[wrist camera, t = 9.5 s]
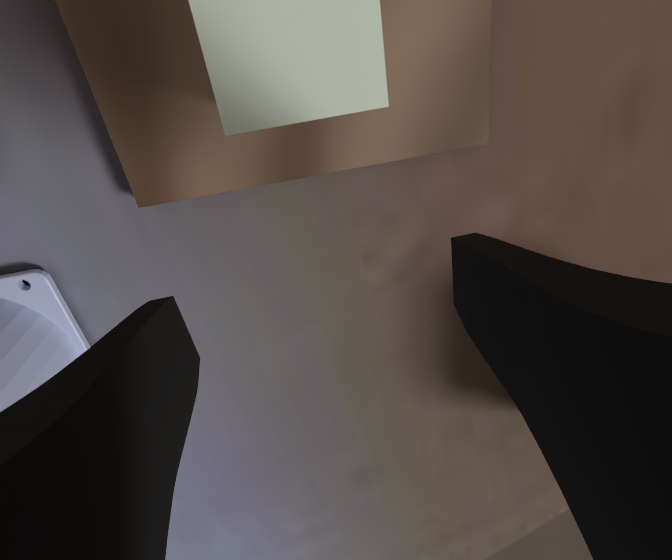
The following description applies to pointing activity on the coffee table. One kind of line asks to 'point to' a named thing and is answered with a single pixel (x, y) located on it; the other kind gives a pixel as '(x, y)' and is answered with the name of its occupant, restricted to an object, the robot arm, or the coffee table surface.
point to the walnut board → (283, 141)
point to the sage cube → (291, 59)
